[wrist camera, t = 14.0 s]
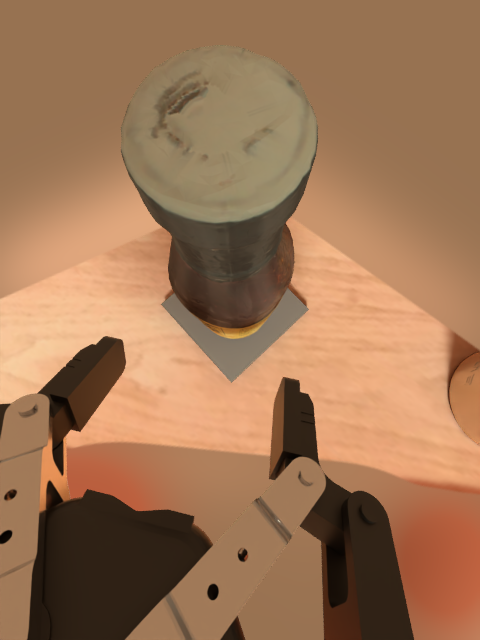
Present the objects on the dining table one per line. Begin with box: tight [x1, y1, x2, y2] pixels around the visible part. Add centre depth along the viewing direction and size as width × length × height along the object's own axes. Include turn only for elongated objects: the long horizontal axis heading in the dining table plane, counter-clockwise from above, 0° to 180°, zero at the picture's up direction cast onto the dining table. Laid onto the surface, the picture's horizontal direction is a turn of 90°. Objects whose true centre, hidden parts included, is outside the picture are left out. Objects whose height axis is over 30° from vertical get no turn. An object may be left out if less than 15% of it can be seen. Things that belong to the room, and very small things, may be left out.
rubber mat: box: [161, 288, 309, 383], centre depth 25 cm, size 10×10×1 cm
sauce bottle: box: [121, 46, 318, 339], centre depth 15 cm, size 7×6×20 cm
